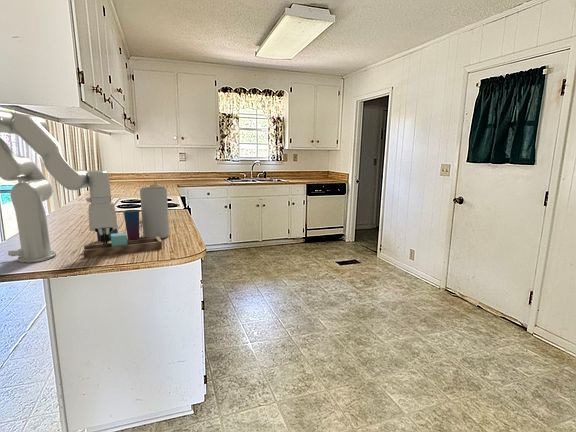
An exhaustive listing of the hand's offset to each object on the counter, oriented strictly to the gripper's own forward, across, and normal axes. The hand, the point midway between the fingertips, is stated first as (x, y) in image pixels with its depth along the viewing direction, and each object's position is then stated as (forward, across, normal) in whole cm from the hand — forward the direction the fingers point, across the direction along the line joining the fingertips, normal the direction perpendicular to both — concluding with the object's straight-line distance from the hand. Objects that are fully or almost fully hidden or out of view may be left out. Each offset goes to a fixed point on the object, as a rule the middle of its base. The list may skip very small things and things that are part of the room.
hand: (105, 243), depth 143 cm
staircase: (+6, +30, +68) cm, 74 cm away
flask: (+5, +1, +23) cm, 24 cm away
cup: (+5, +12, +18) cm, 22 cm away
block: (+4, +5, 0) cm, 7 cm away
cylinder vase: (+5, +23, +22) cm, 32 cm away
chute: (+5, +7, 0) cm, 9 cm away
